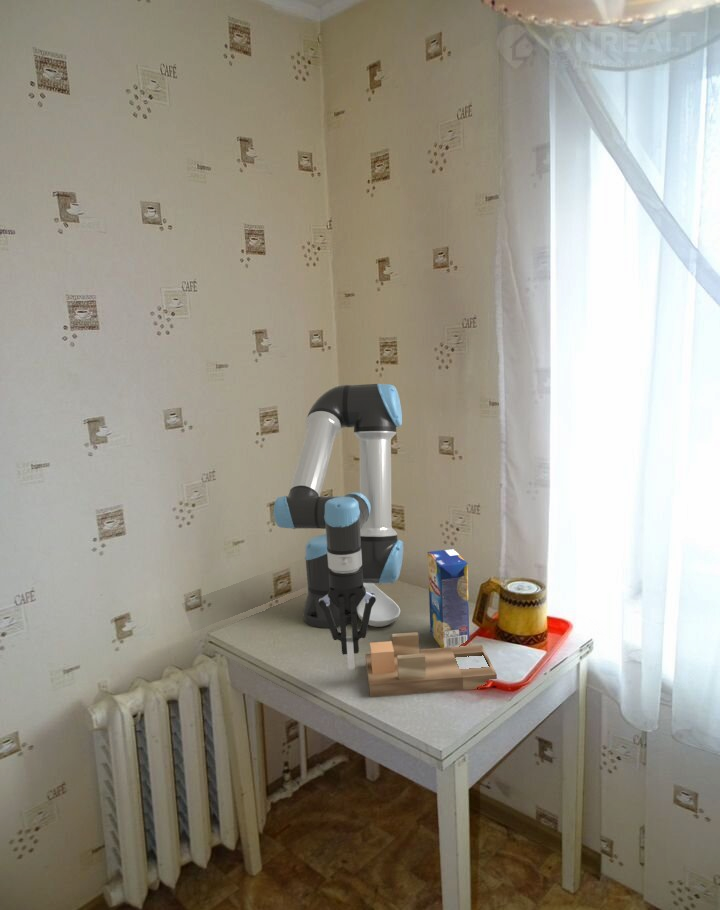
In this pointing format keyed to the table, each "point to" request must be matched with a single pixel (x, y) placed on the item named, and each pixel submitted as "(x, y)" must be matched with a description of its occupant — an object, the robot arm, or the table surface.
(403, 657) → the deck
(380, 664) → the block
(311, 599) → the robot arm
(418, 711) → the table surface
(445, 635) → the beverage box
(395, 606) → the spoon rest
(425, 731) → the table surface
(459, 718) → the table surface
